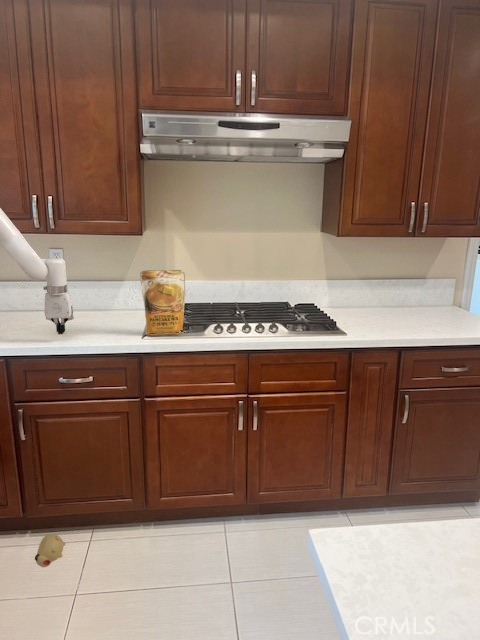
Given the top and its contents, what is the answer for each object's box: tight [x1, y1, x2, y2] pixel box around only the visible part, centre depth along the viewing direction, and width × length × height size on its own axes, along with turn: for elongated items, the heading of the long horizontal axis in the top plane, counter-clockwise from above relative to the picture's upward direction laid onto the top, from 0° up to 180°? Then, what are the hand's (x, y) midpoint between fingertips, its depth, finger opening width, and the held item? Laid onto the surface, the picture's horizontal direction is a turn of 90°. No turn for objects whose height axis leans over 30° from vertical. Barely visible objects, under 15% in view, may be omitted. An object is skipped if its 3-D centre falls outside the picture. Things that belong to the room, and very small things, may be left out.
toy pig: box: [34, 533, 66, 568], centre depth 188 cm, size 10×12×11 cm
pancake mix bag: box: [139, 269, 186, 337], centre depth 200 cm, size 7×19×28 cm, turn 102°
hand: (61, 333), depth 190 cm, fingers closed
